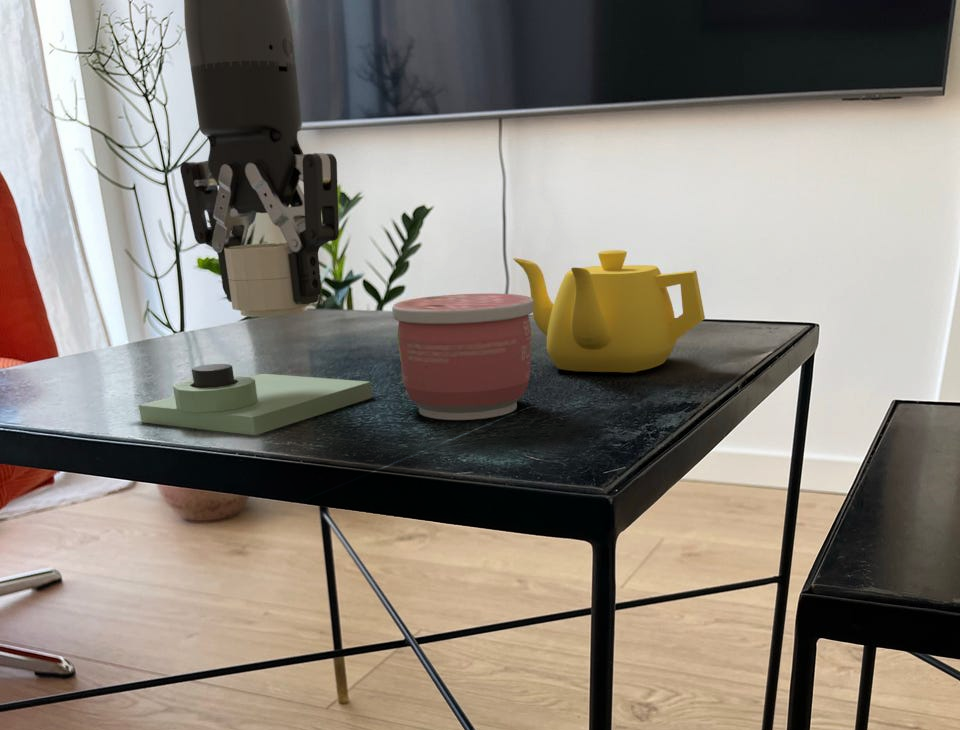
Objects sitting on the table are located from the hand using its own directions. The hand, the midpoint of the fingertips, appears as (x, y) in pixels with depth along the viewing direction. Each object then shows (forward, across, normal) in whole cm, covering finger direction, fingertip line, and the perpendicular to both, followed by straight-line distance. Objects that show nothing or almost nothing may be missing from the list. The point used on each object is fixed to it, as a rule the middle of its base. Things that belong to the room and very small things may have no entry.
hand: (273, 301), depth 80 cm
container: (+8, +16, +3) cm, 18 cm away
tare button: (+5, 0, -7) cm, 9 cm away
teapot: (+8, +18, +23) cm, 30 cm away
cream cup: (+1, 0, 0) cm, 1 cm away
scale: (+8, 0, -3) cm, 9 cm away
